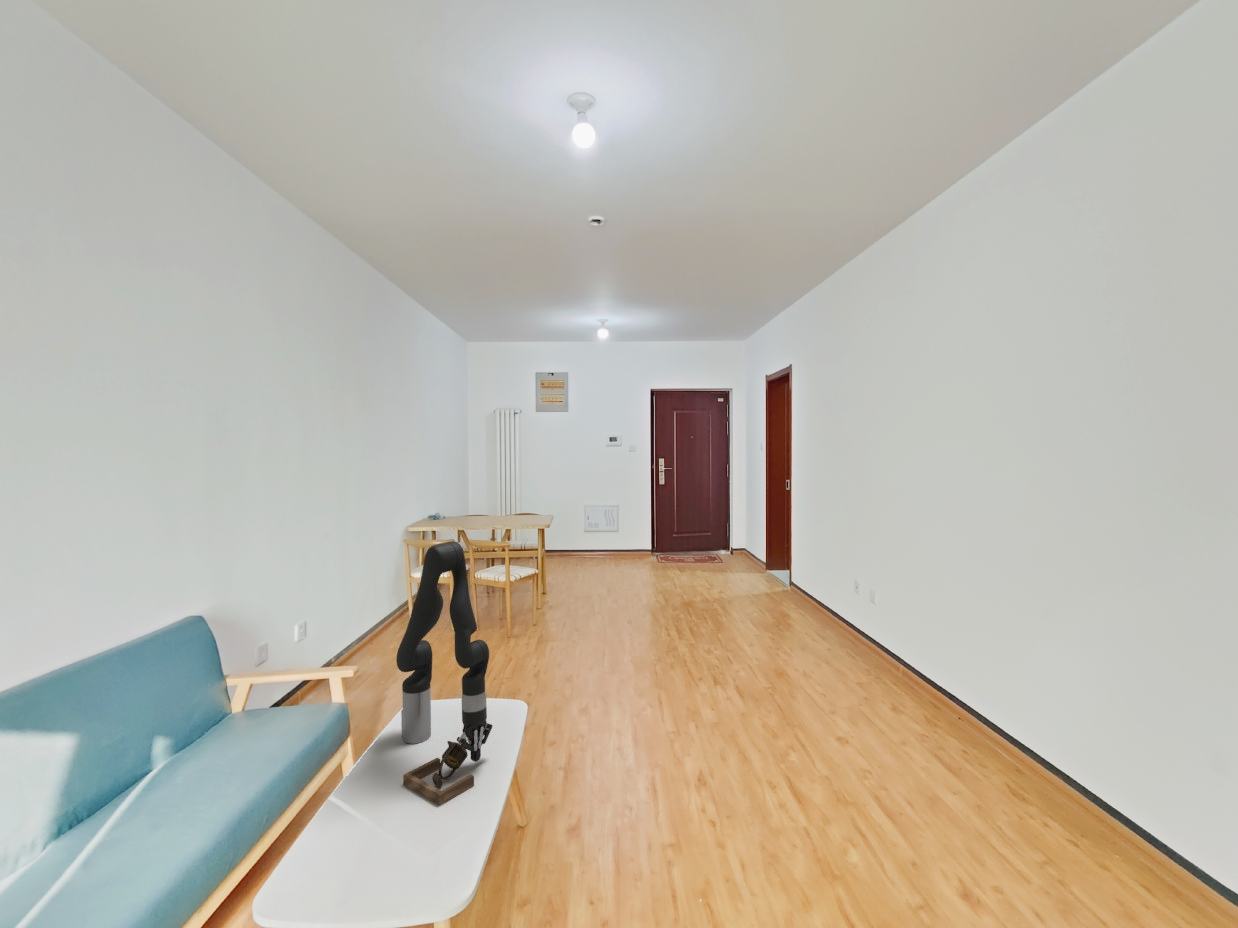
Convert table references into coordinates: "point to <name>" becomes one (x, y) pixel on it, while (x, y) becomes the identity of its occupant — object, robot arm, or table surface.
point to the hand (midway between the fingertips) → (475, 760)
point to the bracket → (431, 792)
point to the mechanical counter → (450, 761)
